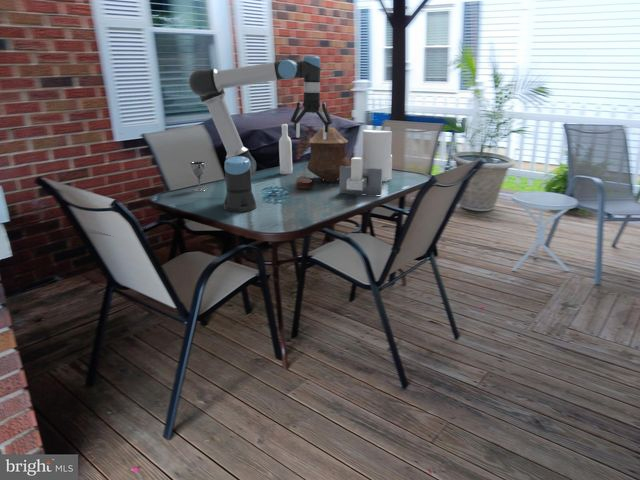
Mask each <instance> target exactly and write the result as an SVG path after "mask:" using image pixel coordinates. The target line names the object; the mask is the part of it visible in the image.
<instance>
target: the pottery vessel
mask: <svg viewBox="0 0 640 480" xmlns="http://www.w3.org/2000/svg"><path fill="white" fill-rule="evenodd" d="M309 140H310V141H309V144H310V146H309V147H310V159H309V161H308V163H307V167H306V168H307V170H308V171H309V172H311V173H312V174H313V175H315V176H317V177H318V178H320V179H321V180H322V179H324V180H337V179H338V180H340V166H348V167H351V160H349V158H348V157H347V143H348V142H349V140H348V139H346V138H345V137H344V136H343V135H341V133H340V132H339V130H337V129H336V128H335V127H328V132H326V139H325V140H323V127H321V128H320V129H318V131H317V132H316V133H315V134H314V135H313V136H312V137H311V138H310V139H309ZM324 180H323V181H324ZM338 180H337V181H338Z"/></svg>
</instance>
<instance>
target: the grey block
mask: <svg viewBox="0 0 640 480" xmlns="http://www.w3.org/2000/svg"><path fill="white" fill-rule="evenodd" d="M382 184H383V182H382V168H365V167H362V181H354V180H351V166H350V167H348V166H340V177H339V194H342V193H348V194H347V195H355V194H366V195H365V196H368V195H381V194H382V193H383V192H382V191H383V190H382V188H383V185H382ZM381 196H382V195H381Z"/></svg>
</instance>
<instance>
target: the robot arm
mask: <svg viewBox="0 0 640 480" xmlns="http://www.w3.org/2000/svg"><path fill="white" fill-rule="evenodd" d="M321 69H322V68H321V58H320V57H319V56H318V55H317V56H313V55H312V56H311V55H309V56H307V55H306V56H304V58H303V60H290V59H284V60H283V59H282V60H278V61H272V62H267V63H258V64H253V65H247V66H240V67H235V68H228V69H220V70H217V69H216V68H212V69H211V68H199V69H196V70H194V71H193V72H191V74H190V75H189V79H188V85H189V89H190V90H191V91H192V93H194V94H195V95H196V96H198V97H199V98H200V101H201V103H202V104H203V105H205V106H206V107H207V109H208V111H209V114H210V116H211V118H212V121H213V123H214V126H215V128H216V130H217V133H218V135H219V137H220V140H221V142H222V144H223V146H224V149H225V151H226V156H225V161H224V167H223V168H224V175H225V189H226V194H225V199H224V203H223V209H224V211H226V212H231V213H244V212H249V211H252V210H255V209H256V208H257V202H256V199H255V196H254V193H253V191H252V190H253V189H252V177H253V176H254V175H255V172H257V162H256V160H255V158H254V157H253V156H252V154H251V153H250V150H249V148H247V147H246V146H244V144H243V142H242V140H241V137H240V134H239V132H238V130H237V127H236V124H235V123H234V120H233V118H232V115H231V112H230V111H229V107H228V106H227V103H226V100H225V96H226V93H225V90H224V89H230V88H231V89H232V88H235V87H243V86H248V85H249V86H250V85H256V84H261V83H268V82H274V81H280V80H282V81H283V80H290V79H303V91H304V92H303V102H301V101H298V102H296V107H295V110H294V111H293V113H292V116H291V118H290V122H291V123H293V124H294V131H295V138H297V139H298V138H300V137H301V136H300V133H301V127H300V125H301V123H300V121H301V120H302V118H303V117H304V116H305V115H306V114H307V113H312V114H315V113H316V115H317V116H318V117H319V119H320V120H321V121H322V123H323V125H322V128H323V140H325V139H326V132H328V128H329V127H330V126H329V125H331V124H333V120H332V118H331V116H330V113H329V110H328V108H327V103H326V102H323V103H320V102H321V100H320V99H321V93H320V91H321ZM302 107H303V109H302V111H301V112H300V110H301V108H302ZM320 108H321V109H322V111H323V113H322V112H321V110H320ZM299 113H300V114H299Z"/></svg>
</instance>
